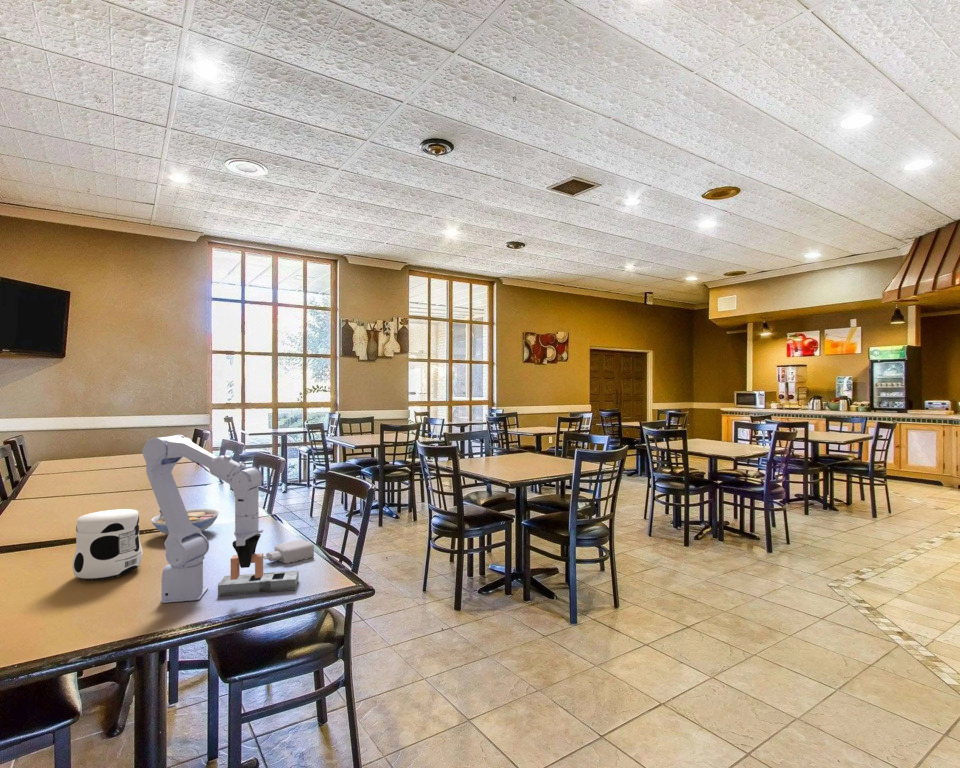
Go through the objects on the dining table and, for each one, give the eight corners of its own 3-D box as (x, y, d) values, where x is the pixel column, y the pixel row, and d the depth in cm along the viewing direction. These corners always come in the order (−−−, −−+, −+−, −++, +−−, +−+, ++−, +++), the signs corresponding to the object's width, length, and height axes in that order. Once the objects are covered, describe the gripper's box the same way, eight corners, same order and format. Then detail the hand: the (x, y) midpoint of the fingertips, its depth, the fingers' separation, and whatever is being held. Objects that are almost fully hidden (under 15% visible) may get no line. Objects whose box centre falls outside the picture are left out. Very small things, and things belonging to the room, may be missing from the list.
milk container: (82, 569, 162) (82, 511, 162) (147, 561, 168) (147, 506, 168) (63, 589, 146) (63, 525, 146) (136, 579, 153) (136, 518, 153)
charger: (257, 562, 168) (301, 551, 179) (268, 569, 161) (314, 558, 172) (257, 547, 168) (301, 538, 179) (268, 554, 161) (314, 544, 172)
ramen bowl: (224, 537, 194) (224, 516, 194) (152, 548, 181) (152, 525, 181) (214, 523, 215) (214, 503, 215) (149, 532, 202) (149, 511, 202)
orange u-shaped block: (230, 579, 136) (230, 558, 136) (233, 575, 139) (233, 555, 139) (261, 577, 137) (261, 556, 137) (263, 573, 140) (263, 553, 140)
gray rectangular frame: (217, 596, 141) (217, 585, 141) (224, 586, 147) (224, 576, 147) (295, 590, 145) (295, 579, 145) (298, 580, 152) (298, 570, 152)
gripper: (257, 520, 132) (257, 573, 132) (268, 506, 146) (268, 555, 146) (227, 521, 130) (227, 575, 130) (241, 508, 145) (241, 556, 145)
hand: (246, 564), depth 138 cm, fingers closed on orange u-shaped block, 3 cm apart
